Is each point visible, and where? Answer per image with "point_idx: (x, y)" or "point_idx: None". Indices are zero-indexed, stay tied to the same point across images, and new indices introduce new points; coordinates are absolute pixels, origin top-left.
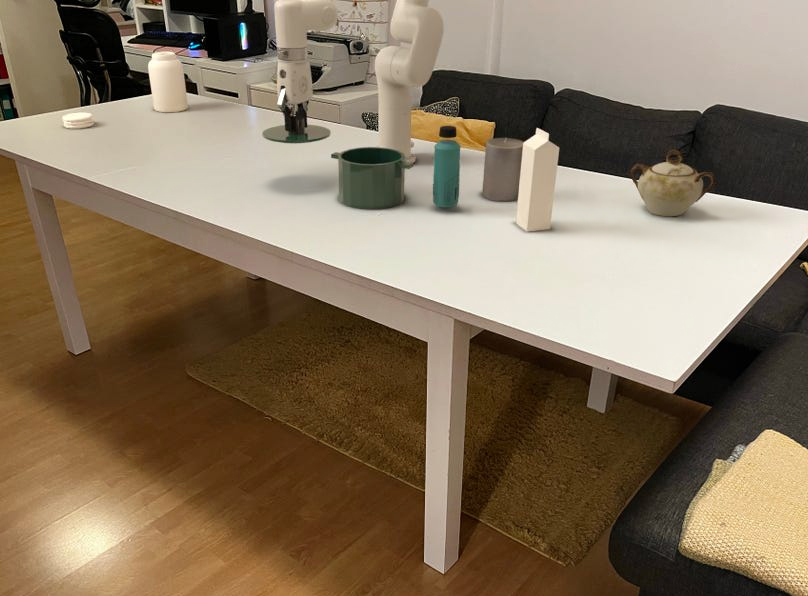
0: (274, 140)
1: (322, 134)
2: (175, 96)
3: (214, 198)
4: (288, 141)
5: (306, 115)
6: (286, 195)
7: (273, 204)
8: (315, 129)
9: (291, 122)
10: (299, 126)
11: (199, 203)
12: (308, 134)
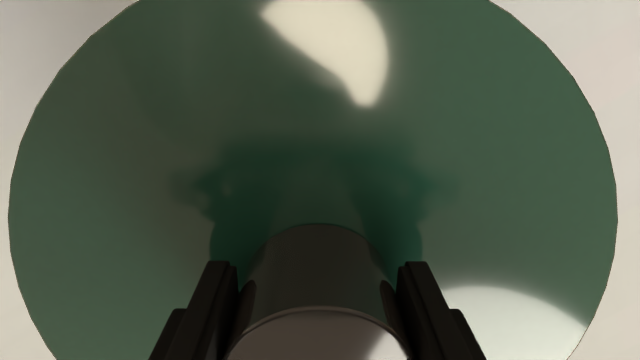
0: (590, 307)
1: (276, 29)
2: None
3: None
4: (613, 198)
5: (180, 342)
6: None
7: (593, 105)
8: (141, 199)
9: (469, 348)
10: (369, 274)
11: (633, 327)
12: (344, 159)
